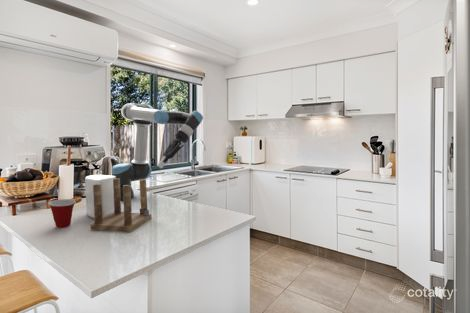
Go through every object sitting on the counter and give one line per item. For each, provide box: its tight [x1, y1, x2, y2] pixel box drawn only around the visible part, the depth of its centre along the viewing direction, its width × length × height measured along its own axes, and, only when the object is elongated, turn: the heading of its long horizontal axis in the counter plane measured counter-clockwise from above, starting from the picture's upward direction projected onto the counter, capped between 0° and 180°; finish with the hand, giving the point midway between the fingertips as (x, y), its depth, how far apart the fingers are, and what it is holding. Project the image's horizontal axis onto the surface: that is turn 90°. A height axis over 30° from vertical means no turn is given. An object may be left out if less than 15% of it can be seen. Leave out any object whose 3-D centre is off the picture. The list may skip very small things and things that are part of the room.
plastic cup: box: [48, 198, 76, 229], centre depth 127 cm, size 11×11×12 cm
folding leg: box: [138, 179, 148, 212], centre depth 136 cm, size 3×3×16 cm
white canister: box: [84, 174, 116, 220], centre depth 144 cm, size 15×14×22 cm
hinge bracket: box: [139, 208, 150, 216], centre depth 137 cm, size 2×5×3 cm, turn 46°
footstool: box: [89, 178, 152, 233], centre depth 130 cm, size 20×20×21 cm
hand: (159, 167), depth 145 cm, fingers closed
